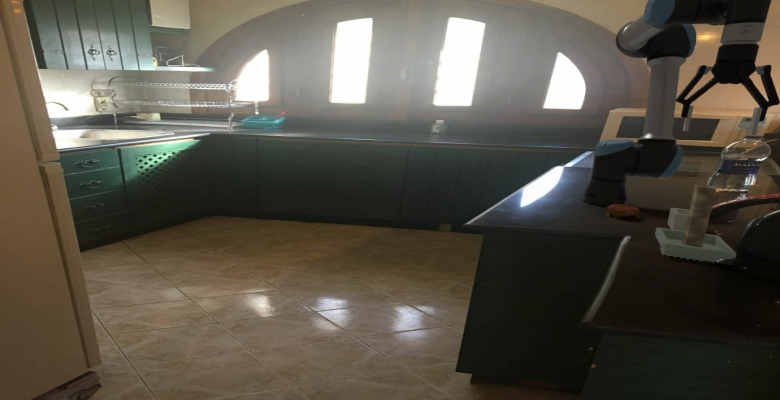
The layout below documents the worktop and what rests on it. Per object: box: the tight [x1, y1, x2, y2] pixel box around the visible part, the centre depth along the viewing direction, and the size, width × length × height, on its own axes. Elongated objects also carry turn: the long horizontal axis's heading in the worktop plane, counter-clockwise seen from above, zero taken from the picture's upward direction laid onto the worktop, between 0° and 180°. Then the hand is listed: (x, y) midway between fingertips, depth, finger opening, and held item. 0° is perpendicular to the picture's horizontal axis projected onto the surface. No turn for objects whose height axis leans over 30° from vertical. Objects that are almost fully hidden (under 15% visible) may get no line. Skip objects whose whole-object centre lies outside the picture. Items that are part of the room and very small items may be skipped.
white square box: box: [667, 207, 690, 231], centre depth 117 cm, size 8×8×6 cm
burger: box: [605, 204, 641, 221], centre depth 128 cm, size 10×9×5 cm
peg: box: [682, 183, 717, 248], centre depth 100 cm, size 4×4×16 cm
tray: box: [654, 226, 737, 262], centre depth 102 cm, size 14×14×3 cm
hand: (717, 132), depth 101 cm, fingers open, 13 cm apart
